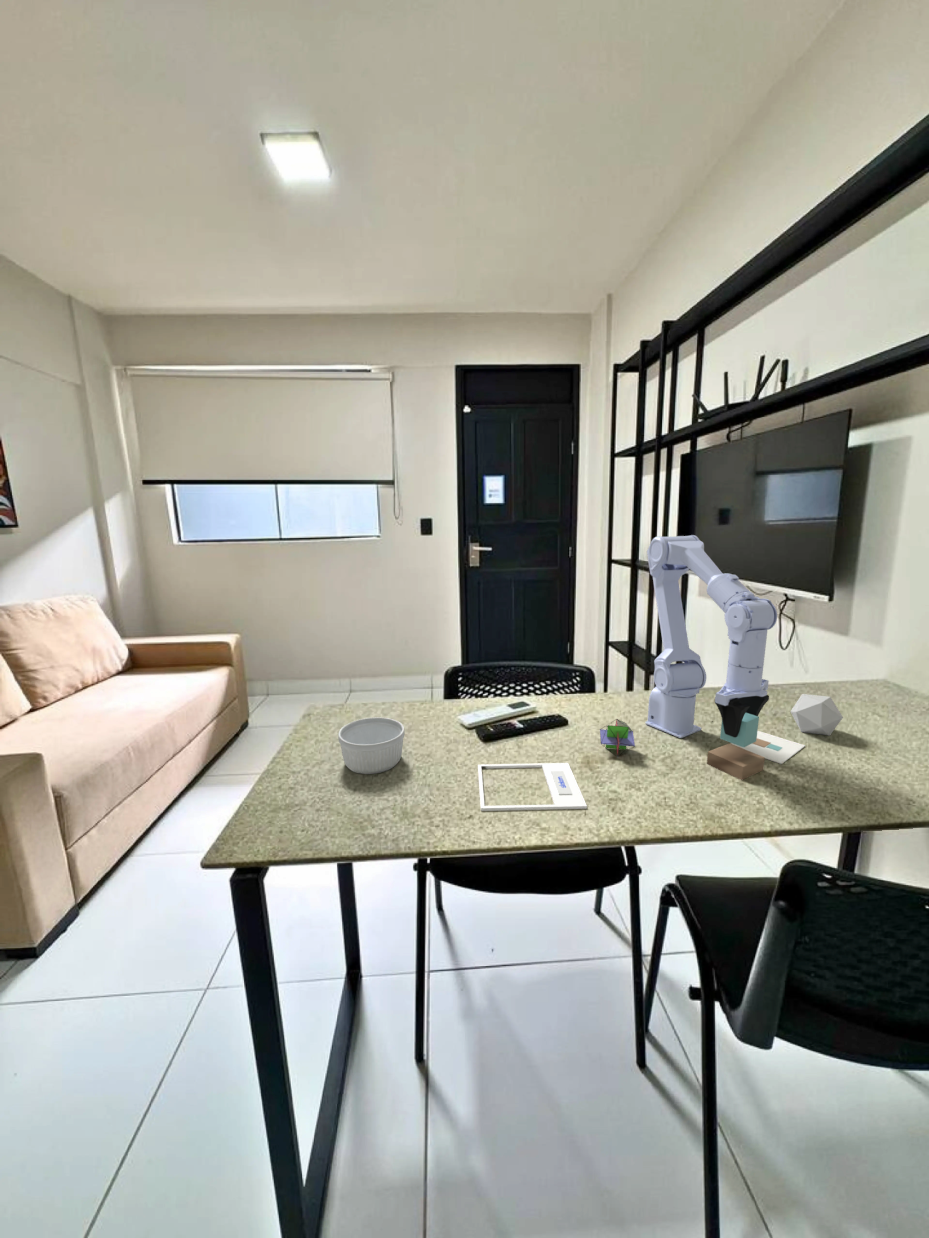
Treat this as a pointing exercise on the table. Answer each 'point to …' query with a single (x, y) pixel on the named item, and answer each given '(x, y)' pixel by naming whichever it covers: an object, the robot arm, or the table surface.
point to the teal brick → (743, 731)
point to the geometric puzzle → (617, 736)
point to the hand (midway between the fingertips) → (738, 731)
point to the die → (816, 714)
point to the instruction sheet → (773, 747)
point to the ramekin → (371, 744)
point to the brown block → (735, 761)
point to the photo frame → (558, 783)
